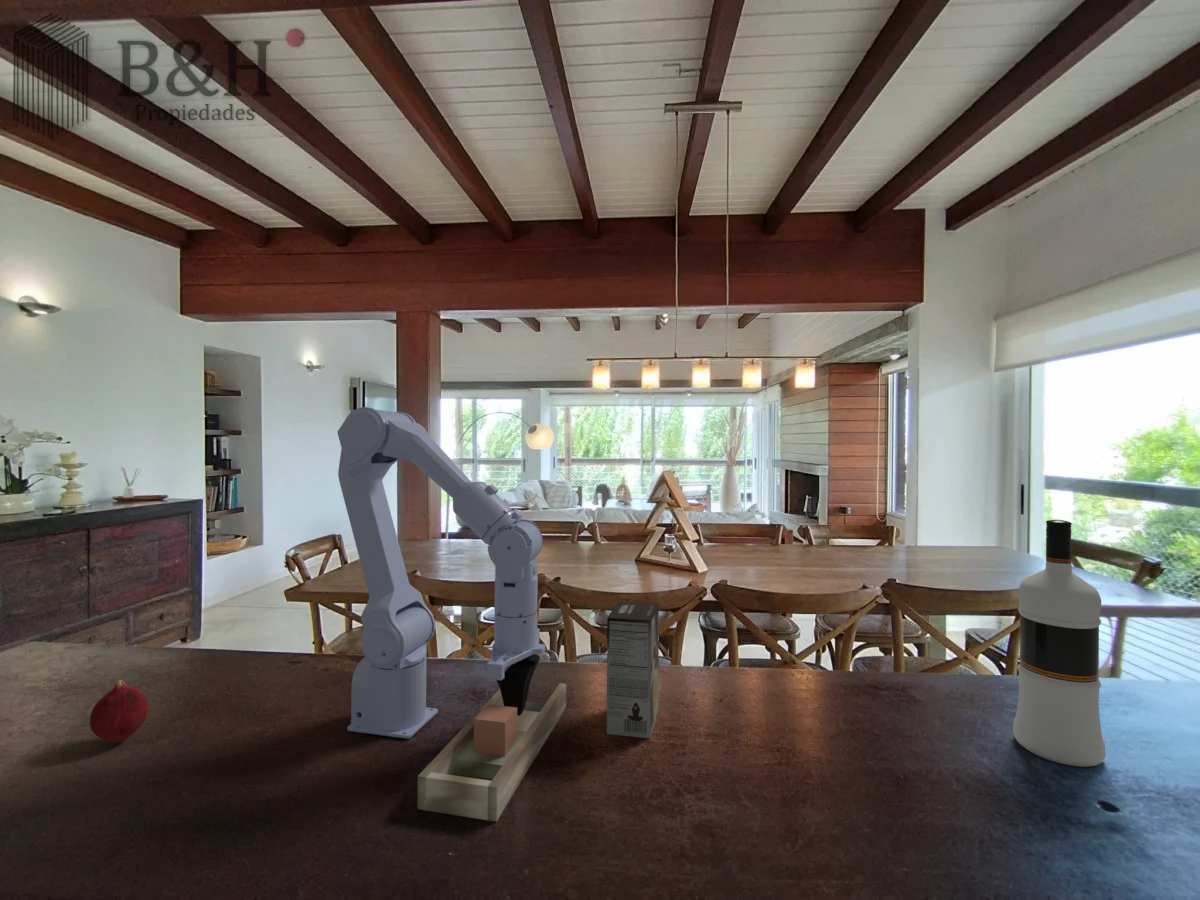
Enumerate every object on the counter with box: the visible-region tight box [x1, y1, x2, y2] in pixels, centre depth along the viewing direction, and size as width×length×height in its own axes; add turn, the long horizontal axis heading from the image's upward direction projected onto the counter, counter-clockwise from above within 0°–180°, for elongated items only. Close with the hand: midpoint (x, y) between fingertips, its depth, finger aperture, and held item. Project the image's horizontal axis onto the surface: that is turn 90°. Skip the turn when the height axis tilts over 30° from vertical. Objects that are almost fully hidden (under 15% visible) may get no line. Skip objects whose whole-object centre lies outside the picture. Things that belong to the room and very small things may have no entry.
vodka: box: [1012, 519, 1106, 768], centre depth 72 cm, size 9×9×30 cm
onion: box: [89, 679, 150, 745], centre depth 72 cm, size 6×6×8 cm
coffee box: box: [606, 600, 660, 740], centre depth 79 cm, size 9×6×16 cm
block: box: [474, 704, 517, 756], centre depth 68 cm, size 4×4×4 cm
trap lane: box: [416, 682, 567, 823], centre depth 71 cm, size 9×26×4 cm, turn 168°
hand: (514, 712), depth 75 cm, fingers closed
